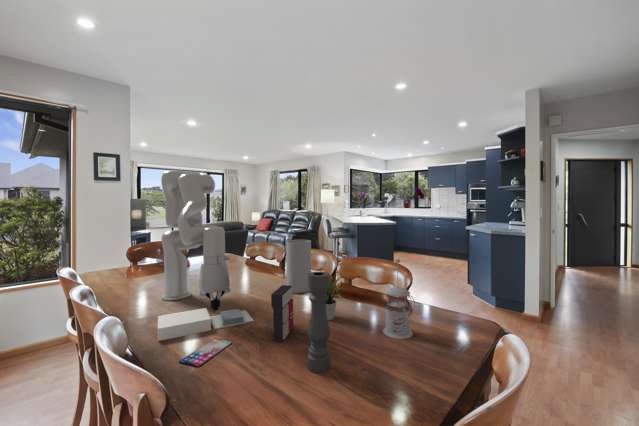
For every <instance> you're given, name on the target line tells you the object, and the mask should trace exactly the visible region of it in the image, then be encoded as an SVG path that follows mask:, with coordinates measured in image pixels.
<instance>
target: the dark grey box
mask: <svg viewBox="0 0 639 426" xmlns="http://www.w3.org/2000/svg"><path fill="white" fill-rule="evenodd" d="M293 294H294V293H293V289H292V286H290V285H287V284H282V285H281V286H280V287H277V289H276V290H275V291H274V292H273V293H271V295H270V296H271V299H270V300H271V304H270V305H271V307H272V310H273V311H272V312H273V316H272V319H273V323H272V324H273V326H272V327H273V341H275V342H283V341H284V340H285V339H286V338H287V337H288V335H289V333H290V332H291V330H292V329H293V327H294V299H293V297H294V295H293Z"/></svg>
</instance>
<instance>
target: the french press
mask: <svg viewBox="0 0 639 426" xmlns="http://www.w3.org/2000/svg"><path fill="white" fill-rule="evenodd" d="M394 263H396V266H397V269H396V271H397V272H396V273H397V275H396V277H397V278H396V279H397V280H396V283H397V284H396V285H397V286H392V287H390V288H387V289H385V293H386V295H388V296H391V297H394V298H395V297H396V298H397V299H393V300H388V301H387V302H386V306H385V327H383V329H382V333H383V334H384V335H385V336H388V337H389V338H393V339H399V340H404V339H409V338H411V337H412V336H413V331H412V330H411V329H410V321H411V319H410V317H411V316H412V315H413V313H414V312H415V306H416V304H415V303H416V301H415V298H414V297H413V296H411V292H410V291H409V290H408V289H406V288H404V287H402V286H399V263H401V260H400V258H395V260H394ZM399 298H404V299H406V300H408V299H409V300H410V305H409V303H408V302H407V301H404V300H399ZM411 298H412V299H411ZM412 300H413V302H412ZM412 303H413V305H412ZM409 306H410V307H409ZM412 306H413V310H412V312H411V313H410V311H411V309H412ZM391 308H392V309H391Z"/></svg>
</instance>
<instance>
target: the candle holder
mask: <svg viewBox="0 0 639 426" xmlns="http://www.w3.org/2000/svg"><path fill="white" fill-rule="evenodd" d="M329 276H330V273H329V272H327V271H311V272H310V273H308V287H309V290H310V291H309V292H310V293H311V294H310V295H309V296H308V300H309V301H310V302H311V313H310V318H309V323H308V327H307V336H308V339H309V341H310V346H309V347H308V349H307V351H308V353H307V364H306V365H307V369H308V371H309V372H310V373H313V374H316V375H318V374H319V375H321V374H325V373H328V372H329V371H330V370H331V367H332V364H331V363H332V359H331V357H332V355H331V352H330V347H329V345H328V341H329V338H331V328H330V324H329V320H328V319H327V315H326V301H327V300H328V296H327V295H326V293H327V290H328V287H329Z"/></svg>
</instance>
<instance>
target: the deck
mask: <svg viewBox="0 0 639 426" xmlns="http://www.w3.org/2000/svg"><path fill="white" fill-rule="evenodd" d="M211 330H212V324H211V318H210V314H209V311H208V309H207V307H204V308H197V309H192V310H186V311H181V312H175V313H167V314H162V315H158V317H157V342H161V341H165V340H170V339H176V338H179V337H185V336H189V335H193V334H199V333H204V332H209V331H211Z"/></svg>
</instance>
